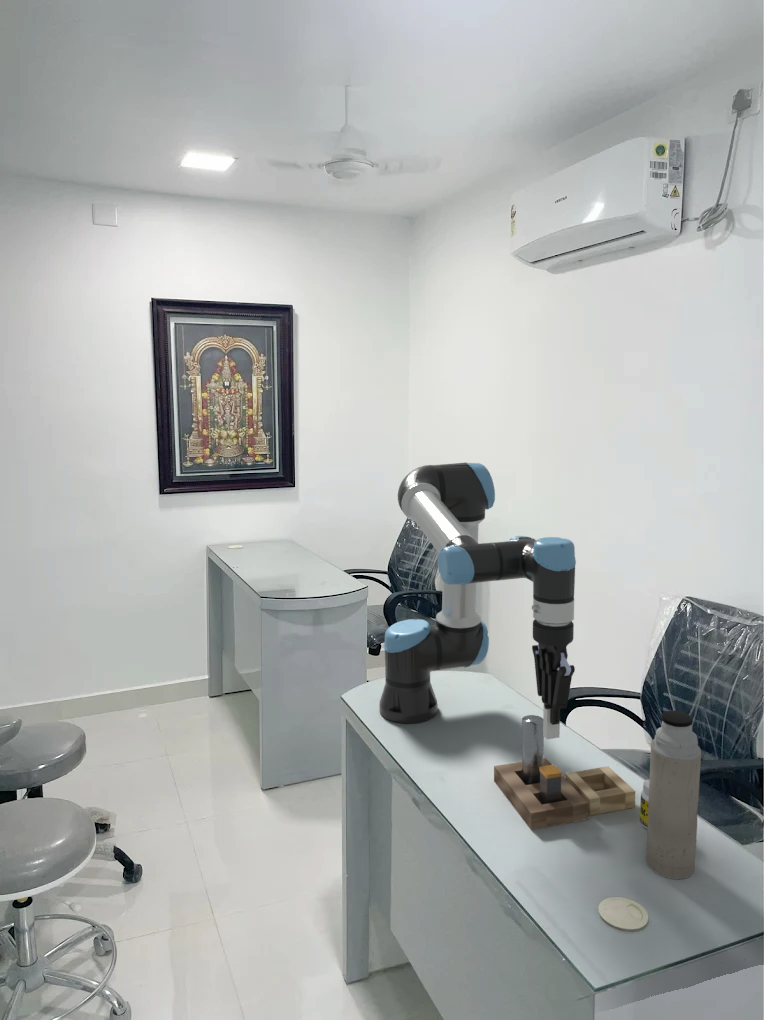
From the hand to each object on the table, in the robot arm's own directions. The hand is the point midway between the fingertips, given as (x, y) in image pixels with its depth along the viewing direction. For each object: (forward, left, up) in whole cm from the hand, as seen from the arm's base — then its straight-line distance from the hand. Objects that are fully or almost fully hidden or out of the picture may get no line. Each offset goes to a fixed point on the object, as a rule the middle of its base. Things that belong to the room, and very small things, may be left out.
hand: (551, 736), depth 142 cm
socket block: (-5, 0, -16) cm, 17 cm away
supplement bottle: (+9, +17, -17) cm, 25 cm away
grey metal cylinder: (-8, 0, -16) cm, 18 cm away
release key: (0, 0, -14) cm, 14 cm away
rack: (-2, +12, -16) cm, 20 cm away
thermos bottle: (+20, +13, -17) cm, 29 cm away
